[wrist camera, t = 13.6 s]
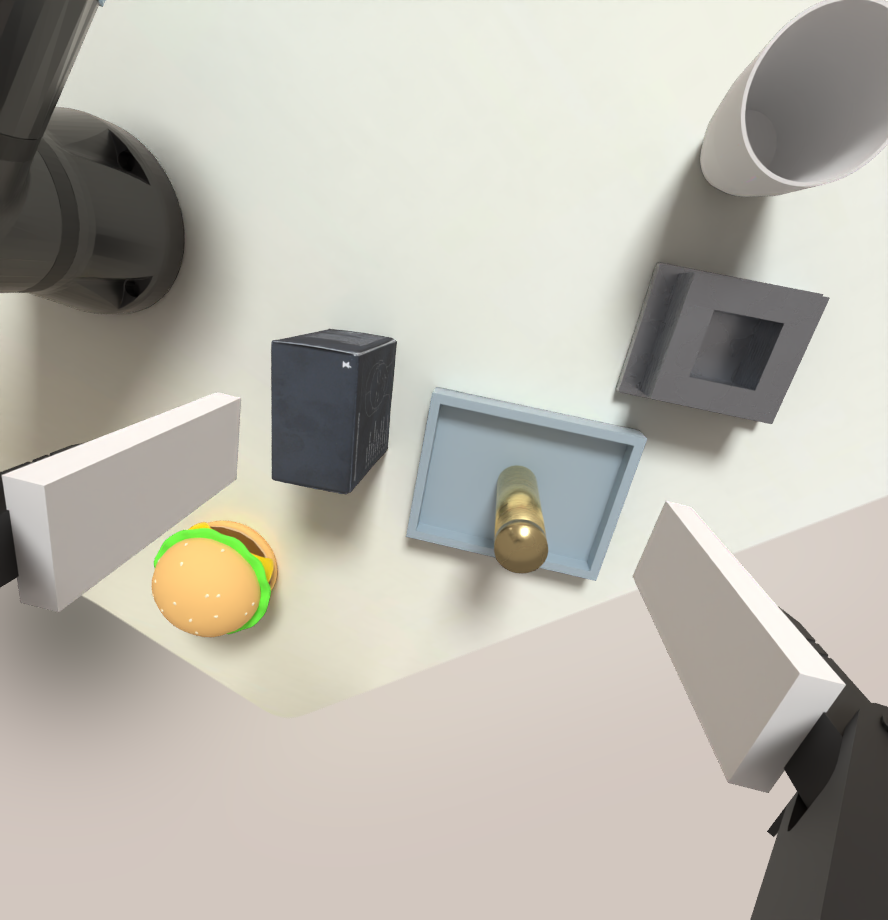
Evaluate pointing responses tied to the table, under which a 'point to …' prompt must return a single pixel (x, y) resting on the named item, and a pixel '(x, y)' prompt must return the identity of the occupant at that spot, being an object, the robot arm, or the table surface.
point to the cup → (804, 104)
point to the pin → (519, 522)
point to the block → (719, 342)
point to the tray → (535, 447)
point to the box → (330, 407)
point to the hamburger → (214, 578)
